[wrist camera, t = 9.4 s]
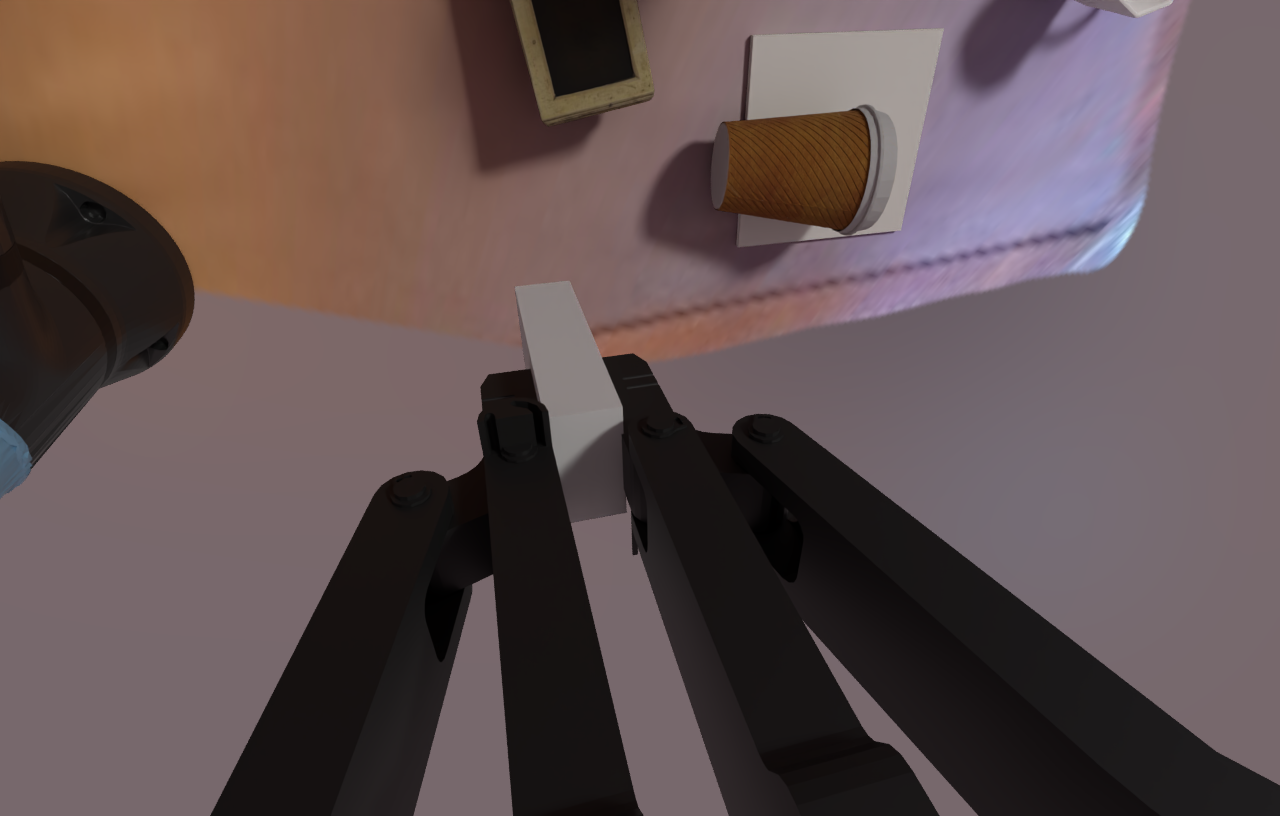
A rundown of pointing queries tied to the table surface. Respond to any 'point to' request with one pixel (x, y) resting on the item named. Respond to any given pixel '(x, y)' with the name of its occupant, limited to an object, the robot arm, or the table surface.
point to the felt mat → (842, 102)
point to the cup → (1127, 6)
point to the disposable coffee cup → (807, 168)
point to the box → (583, 56)
